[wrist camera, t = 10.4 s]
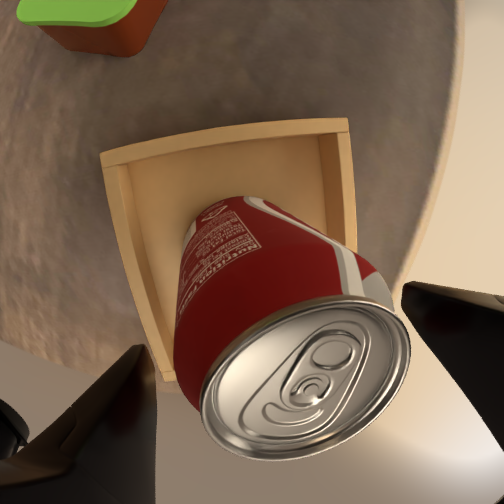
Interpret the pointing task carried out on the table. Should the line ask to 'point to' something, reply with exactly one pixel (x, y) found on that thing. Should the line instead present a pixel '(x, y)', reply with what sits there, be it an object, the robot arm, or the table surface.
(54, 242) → the table surface
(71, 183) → the table surface
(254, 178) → the tray
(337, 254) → the soda can
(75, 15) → the planter
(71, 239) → the table surface
